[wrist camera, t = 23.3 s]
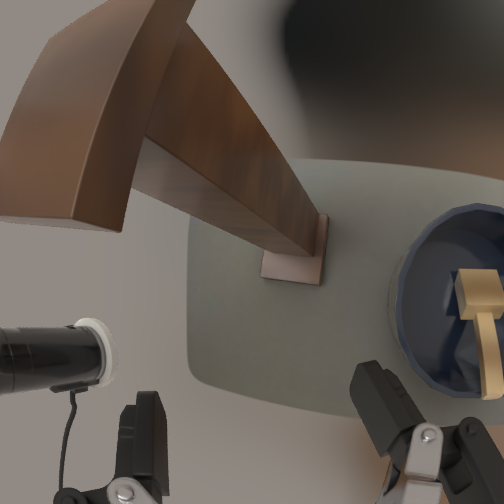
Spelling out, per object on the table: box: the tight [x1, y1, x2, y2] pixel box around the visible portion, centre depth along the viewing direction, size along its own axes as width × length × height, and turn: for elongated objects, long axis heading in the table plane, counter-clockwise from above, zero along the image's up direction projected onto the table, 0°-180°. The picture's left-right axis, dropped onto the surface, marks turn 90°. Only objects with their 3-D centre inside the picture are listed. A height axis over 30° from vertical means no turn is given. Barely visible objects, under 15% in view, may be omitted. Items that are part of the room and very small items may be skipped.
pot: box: [388, 203, 504, 398], centre depth 25 cm, size 17×17×9 cm
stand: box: [0, 0, 329, 286], centre depth 22 cm, size 8×7×32 cm
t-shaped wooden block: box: [454, 269, 504, 400], centre depth 22 cm, size 14×5×2 cm
